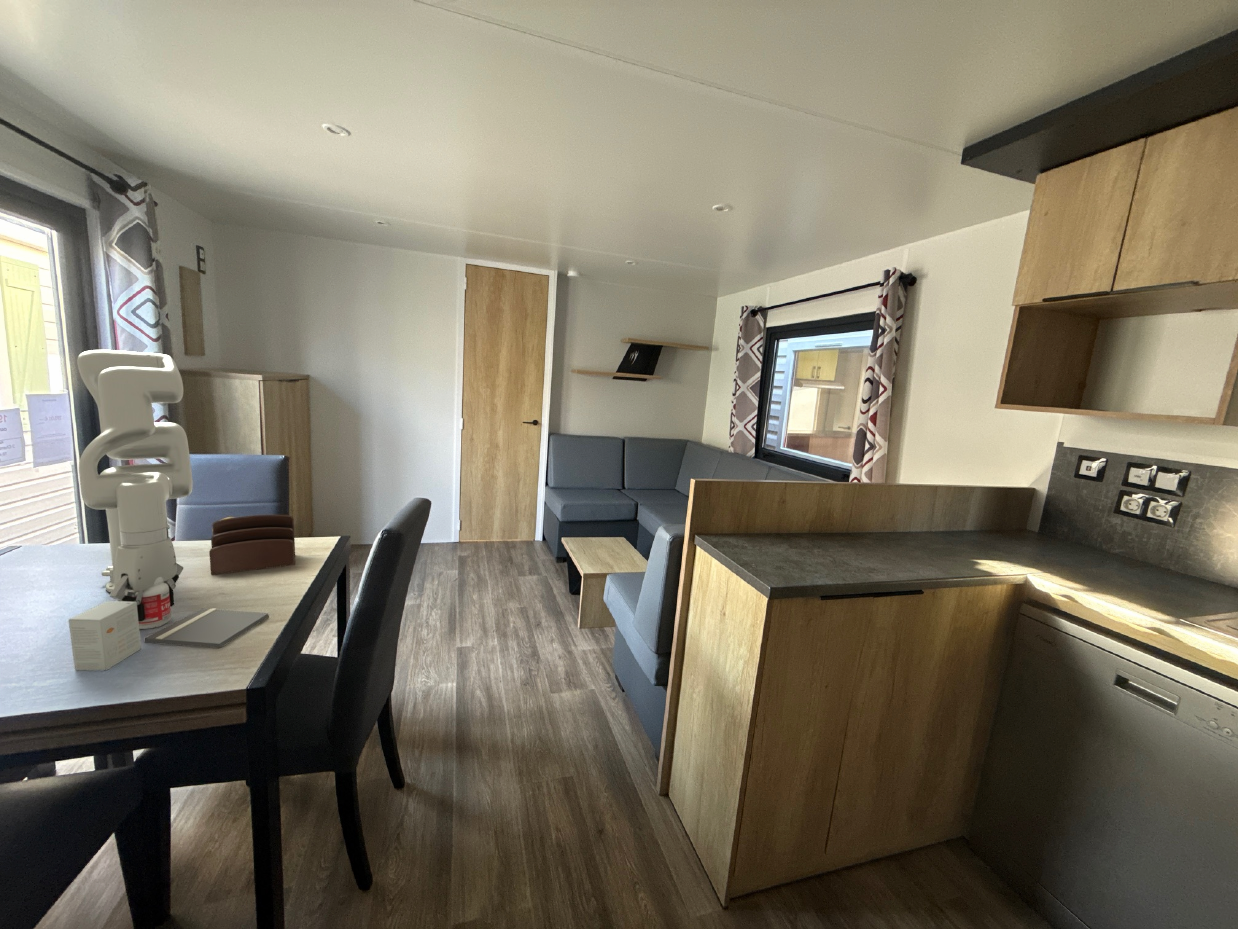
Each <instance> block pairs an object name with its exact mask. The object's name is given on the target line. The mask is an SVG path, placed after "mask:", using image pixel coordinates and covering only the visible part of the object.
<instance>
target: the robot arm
mask: <svg viewBox="0 0 1238 929" xmlns="http://www.w3.org/2000/svg"><path fill="white" fill-rule="evenodd" d="M76 362H77V363H76V364H77V368H78V373H79V374H80V378H81V380H82V382H83V383H84V385H85V387H86V389H87V390H88V391H89V393H90V394H91V395H90V396H91V397H93V399H94V402H95V404H96V405H97V409H98V419H99V426H100V428H99V429H100V434H99V435H98V436H96V437H95V438H94V439H93V440H92V441H91V442H89V444H88V445H87V446H86V447H85V449H84V450H83V452H82V454H81V456H80V458H79V463H78V474H79V483H80V484H79V485H80V493H81V499H82V501H83V503H84V505H86V506H87V507H88V508H90V509H93V510H105V514H106V520H107V528H108V536H109V537H108V538H109V546H110V558H111V565H109V566H107V567H106V568H105V570H102V572H101V576H102V577H109V579H110V580H109V581H108V582H106V584H105V590H106V591H107V592H109V593H110V594H109V597H110V598H112V599H114V600H115V601H127V602H137V612H138V621H143V620H145V612H144V604H143V603H140V602H141V599H142V595H143V592H144V590H146V589H148V588H151V587H153V586H155V584H154V582H155V580H156V579H157V578H159V577H162V578H163V582H164V583H166V584H167V585H168V586H169V596H170V608H172V607H174V606H175V593H174V589H175V588H176V587H177V585H176V584H177V582H178V580H179V578H180V576H181V574H182V572H183V570H184V567H183V566H182V565H181V564H178V563H177V558H176V552H175V547H174V544H173V541H172V538H171V537H170V536H169V530H170V529H171V526H170V524H168V514H167V501H168V500H172V499H173V500H174V499H182V498H186V497H187V496H190V494H192V491H193V486H194V482H193V481H194V480H193V472H192V471H193V470H192V464H191V456H190V450H189V442H188V437H187V433H186V431H185V429H184V428H183V427H182V426H181V425H180V424H178V423H177V422H176V423H175V422H170V421H169V422H168V421H167V422H157V421H156V422H155V416H154V412H153V411H154V410H153V404H175V403H176V404H178V403H179V402H181V400H182V399H183V396H184V384H183V380H182V379H183V378H182V376H181V373H180V371H179V369H178V367H177V364H176V362H175V360H174V359H173V357H171V355H168V354H163V353H158V352H157V353H156V352H155V353H154V352H142V351H140V352H139V351H138V352H137V351H127V350H117V349H116V350H115V349H114V350H113V349H112V350H111V349H93V350H92V349H91V350H86V351H83V352H81V353H80V354H79V355H78V356H77V361H76ZM104 456H107V457H108V458H110V459H113V460H119V461H128V460H130V461H132V460H133V461H134V460H135V461H136V460H154V459H158V460H159V459H160V460H161V459H163V460H165V461H166V462H165V463H163V462H162V463H146V464H145V463H144V464H127V465H125V464H124V465H118V466H112V467H110V468H109V467H108V468H106V469H104V470H103V471H102V472H100V474H99V473H98V464H99V462H100V460H101V459H102V458H103V457H104ZM133 592H134V593H135V597H134V598H133V597H132V594H133Z"/></svg>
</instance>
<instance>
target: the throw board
mask: <svg viewBox="0 0 1238 929" xmlns="http://www.w3.org/2000/svg"><path fill="white" fill-rule="evenodd" d="M269 615H270V614H269V613H268V612H257V611H247V610H246V611H245V610H232V609H231V610H230V609H218V608H205V607H204V608H200V609H198V610H196V611H194V612H192V613H190V614H188V615H186V616H184V617H182V618H181V619H179V620H177V621H175V622H172V623H171V624H169V625H167V626H165V627H163V628H161V629H159V630H157V631H155V632H154V633H152V634H150V635H147V636H146V637H144V638H143V639H144V643H145V644H146V643H147V644H160V645H174V646H175V645H176V646H187V647H202V648H214V649H221V648H222V647H224V646H226V645H227V644H229V643H230V642H231V641H232V642H233V641H234V639H236V638H238V637H239V636H241V635H243V634H244V633H246V632H248V631H249V630H250V629H252V628H254V627H255V626H256V625H259V624H261V623H262V622H263V621H265V620H267V619H268V618H269Z"/></svg>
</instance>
